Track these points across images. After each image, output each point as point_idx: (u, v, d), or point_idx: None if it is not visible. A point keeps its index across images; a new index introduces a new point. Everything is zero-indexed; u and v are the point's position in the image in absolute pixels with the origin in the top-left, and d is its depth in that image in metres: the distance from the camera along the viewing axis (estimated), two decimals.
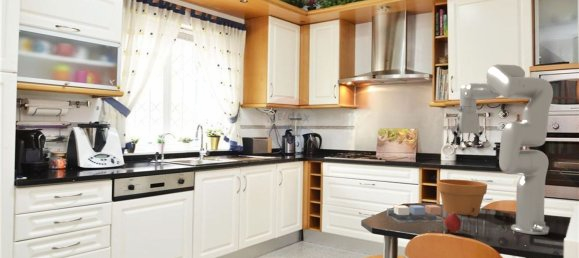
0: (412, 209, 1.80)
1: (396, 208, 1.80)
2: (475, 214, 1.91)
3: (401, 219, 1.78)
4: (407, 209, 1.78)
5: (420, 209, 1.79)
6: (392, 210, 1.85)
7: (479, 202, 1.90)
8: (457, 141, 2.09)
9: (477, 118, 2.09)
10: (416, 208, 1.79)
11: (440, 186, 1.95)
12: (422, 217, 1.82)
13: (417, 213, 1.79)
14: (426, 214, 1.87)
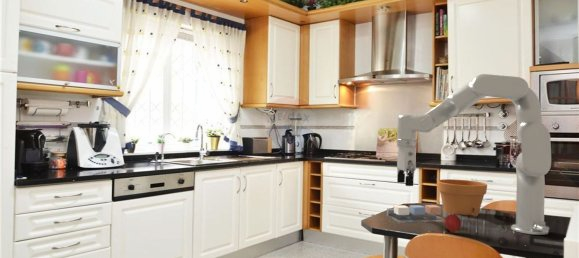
0: (412, 209, 1.80)
1: (396, 208, 1.80)
2: (475, 214, 1.91)
3: (401, 219, 1.78)
4: (407, 209, 1.78)
5: (420, 209, 1.79)
6: (392, 210, 1.85)
7: (479, 202, 1.90)
8: (411, 182, 1.76)
9: None
10: (416, 208, 1.79)
11: (440, 186, 1.95)
12: (422, 217, 1.82)
13: (417, 213, 1.79)
14: (426, 214, 1.87)
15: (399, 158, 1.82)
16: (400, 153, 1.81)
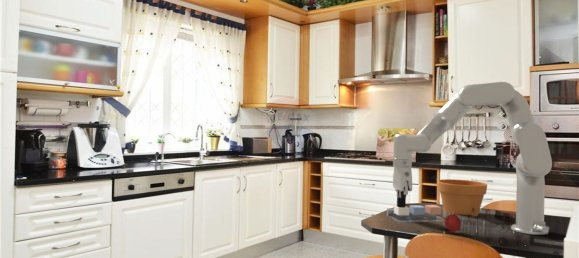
0: (412, 209, 1.80)
1: (396, 208, 1.80)
2: (475, 214, 1.91)
3: (401, 219, 1.78)
4: (407, 209, 1.78)
5: (420, 209, 1.79)
6: (392, 210, 1.85)
7: (479, 202, 1.90)
8: None
9: None
10: (416, 208, 1.79)
11: (440, 186, 1.95)
12: (422, 217, 1.82)
13: (417, 213, 1.79)
14: (426, 214, 1.87)
15: (395, 178, 1.81)
16: (396, 173, 1.79)
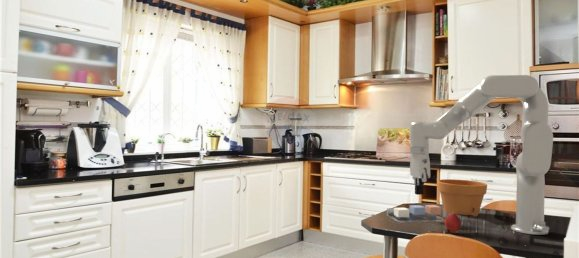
0: (412, 209, 1.80)
1: (396, 210, 1.80)
2: (475, 214, 1.91)
3: (401, 219, 1.78)
4: (407, 211, 1.78)
5: (420, 209, 1.79)
6: (392, 210, 1.85)
7: (479, 202, 1.90)
8: None
9: None
10: (416, 208, 1.79)
11: (440, 186, 1.95)
12: (422, 217, 1.82)
13: (417, 213, 1.79)
14: (426, 214, 1.87)
15: (412, 165, 1.82)
16: (414, 160, 1.80)
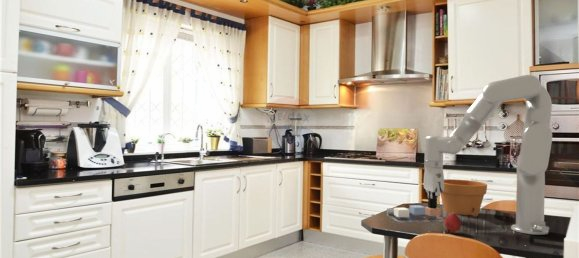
0: (412, 209, 1.80)
1: (396, 210, 1.80)
2: (475, 214, 1.91)
3: (401, 219, 1.78)
4: (407, 211, 1.78)
5: (420, 209, 1.79)
6: (392, 210, 1.85)
7: (479, 202, 1.90)
8: (435, 204, 1.81)
9: None
10: (416, 208, 1.79)
11: None
12: (422, 217, 1.82)
13: (417, 213, 1.79)
14: (426, 214, 1.87)
15: (426, 179, 1.83)
16: (428, 174, 1.81)
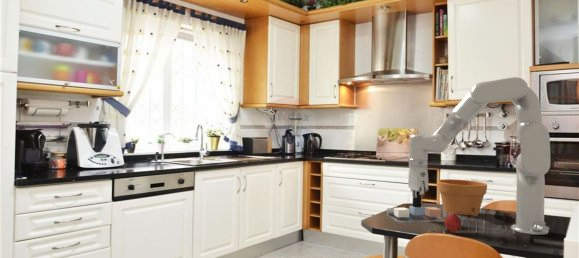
0: (412, 209, 1.80)
1: (396, 210, 1.80)
2: (475, 214, 1.91)
3: (401, 219, 1.78)
4: (407, 211, 1.78)
5: (420, 209, 1.79)
6: (392, 210, 1.85)
7: (479, 202, 1.90)
8: (419, 203, 1.80)
9: None
10: (416, 208, 1.79)
11: (440, 186, 1.95)
12: (422, 217, 1.82)
13: (417, 213, 1.79)
14: None
15: (411, 178, 1.82)
16: (412, 173, 1.80)
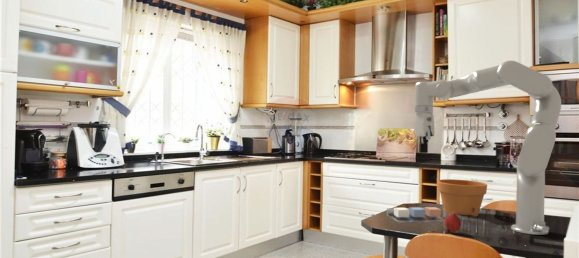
0: (412, 211, 1.80)
1: (396, 210, 1.80)
2: (475, 214, 1.91)
3: (401, 219, 1.78)
4: (407, 211, 1.78)
5: (420, 211, 1.79)
6: (392, 210, 1.85)
7: (479, 202, 1.90)
8: (426, 148, 1.84)
9: None
10: (416, 210, 1.79)
11: (440, 186, 1.95)
12: (422, 217, 1.82)
13: (417, 215, 1.79)
14: None
15: (417, 124, 1.86)
16: (418, 119, 1.85)
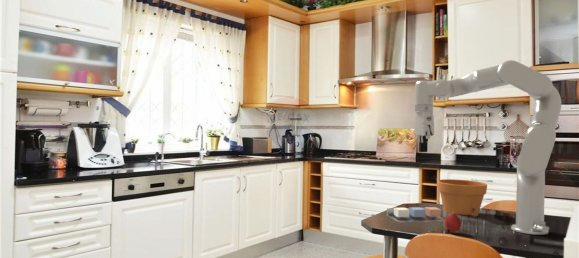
0: (412, 211, 1.80)
1: (396, 210, 1.80)
2: (475, 214, 1.91)
3: (401, 219, 1.78)
4: (407, 211, 1.78)
5: (420, 211, 1.79)
6: (392, 210, 1.85)
7: (479, 202, 1.90)
8: (426, 148, 1.84)
9: None
10: (416, 210, 1.79)
11: (440, 186, 1.95)
12: (422, 217, 1.82)
13: (417, 215, 1.79)
14: None
15: (417, 124, 1.86)
16: (418, 118, 1.85)
